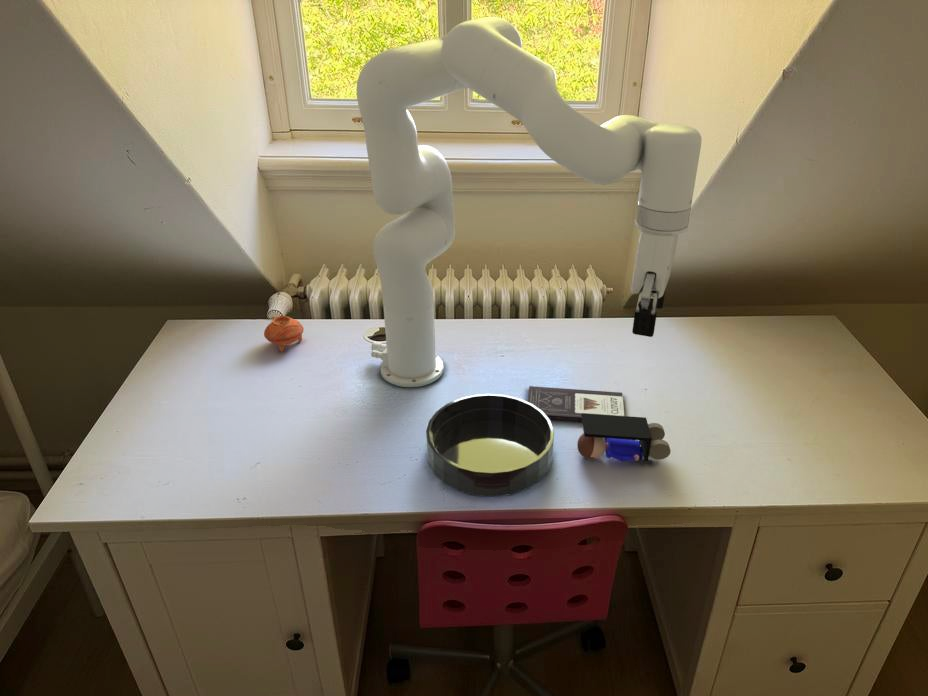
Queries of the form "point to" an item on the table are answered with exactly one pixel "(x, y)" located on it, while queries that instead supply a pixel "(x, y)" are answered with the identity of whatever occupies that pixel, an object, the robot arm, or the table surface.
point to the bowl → (489, 444)
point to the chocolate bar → (575, 402)
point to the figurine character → (622, 438)
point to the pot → (283, 331)
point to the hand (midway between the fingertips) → (647, 320)
